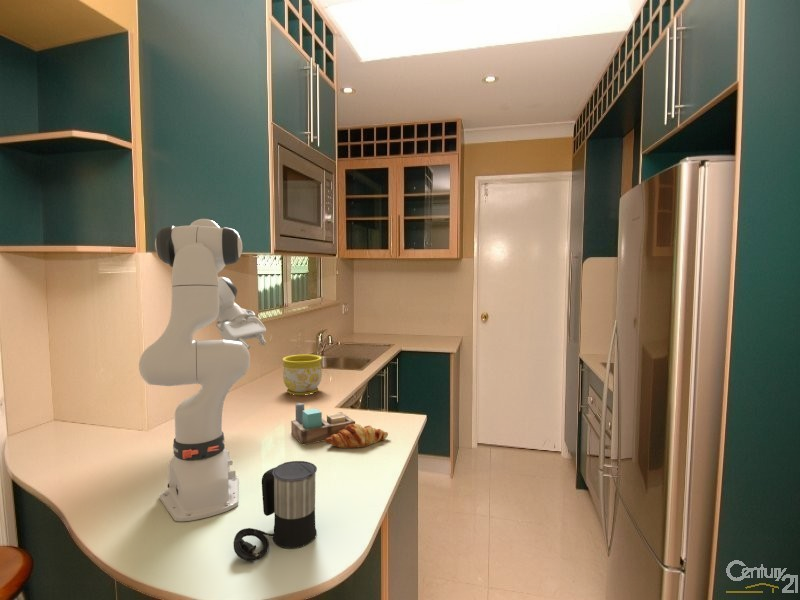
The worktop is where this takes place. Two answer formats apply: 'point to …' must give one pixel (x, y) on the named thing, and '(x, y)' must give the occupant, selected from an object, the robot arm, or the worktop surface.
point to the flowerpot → (302, 373)
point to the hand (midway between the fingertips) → (256, 346)
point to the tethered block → (308, 417)
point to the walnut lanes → (318, 430)
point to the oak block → (335, 418)
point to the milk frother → (284, 509)
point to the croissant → (356, 436)
